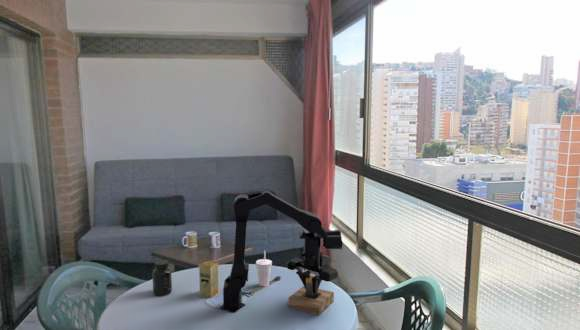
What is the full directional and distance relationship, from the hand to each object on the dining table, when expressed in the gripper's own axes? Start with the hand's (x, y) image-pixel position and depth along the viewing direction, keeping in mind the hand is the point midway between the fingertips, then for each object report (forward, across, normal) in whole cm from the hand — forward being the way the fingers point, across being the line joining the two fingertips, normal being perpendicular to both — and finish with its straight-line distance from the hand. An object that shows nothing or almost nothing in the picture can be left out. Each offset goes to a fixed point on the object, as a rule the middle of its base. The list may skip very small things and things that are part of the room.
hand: (311, 292), depth 147 cm
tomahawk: (+5, +22, 0) cm, 23 cm away
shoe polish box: (+5, +34, +19) cm, 39 cm away
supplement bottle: (+5, +48, +30) cm, 57 cm away
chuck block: (+4, 0, 0) cm, 4 cm away
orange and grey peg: (+3, 0, 0) cm, 3 cm away
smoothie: (+5, +24, -1) cm, 25 cm away
